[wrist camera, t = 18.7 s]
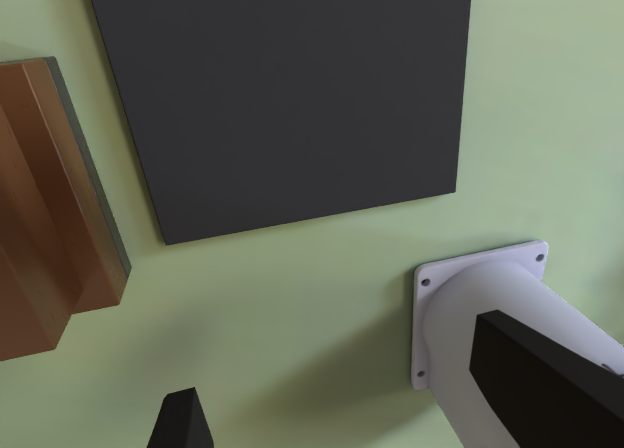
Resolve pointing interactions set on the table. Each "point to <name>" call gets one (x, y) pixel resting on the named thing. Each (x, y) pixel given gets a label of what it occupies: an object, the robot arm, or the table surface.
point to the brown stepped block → (49, 214)
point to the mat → (287, 105)
